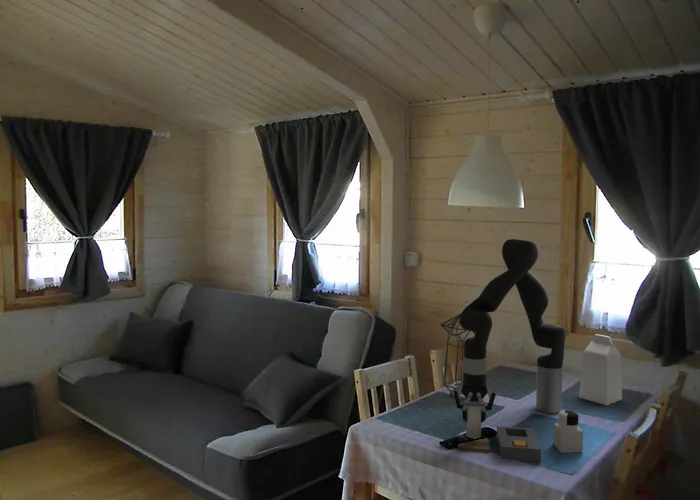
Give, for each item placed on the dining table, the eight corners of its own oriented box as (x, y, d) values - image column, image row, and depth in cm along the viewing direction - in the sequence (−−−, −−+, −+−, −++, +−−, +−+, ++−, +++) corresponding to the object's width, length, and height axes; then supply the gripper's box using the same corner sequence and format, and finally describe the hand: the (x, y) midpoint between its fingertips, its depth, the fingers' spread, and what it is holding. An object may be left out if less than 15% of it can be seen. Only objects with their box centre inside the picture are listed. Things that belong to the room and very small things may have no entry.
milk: (578, 397, 244) (580, 334, 242) (594, 392, 251) (596, 331, 249) (606, 405, 234) (608, 340, 232) (621, 399, 241) (624, 336, 239)
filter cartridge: (465, 432, 199) (465, 397, 198) (481, 433, 198) (481, 397, 197) (465, 438, 193) (466, 402, 193) (482, 439, 193) (482, 403, 192)
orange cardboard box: (513, 452, 189) (513, 440, 189) (524, 453, 189) (525, 440, 188) (514, 457, 186) (514, 444, 185) (526, 458, 185) (526, 445, 185)
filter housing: (496, 437, 202) (496, 426, 202) (533, 440, 200) (533, 428, 200) (500, 459, 185) (501, 446, 185) (540, 461, 183) (541, 449, 183)
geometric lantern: (436, 396, 245) (437, 312, 243) (456, 388, 257) (458, 307, 255) (470, 404, 235) (471, 316, 233) (489, 395, 246) (491, 311, 244)
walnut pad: (457, 438, 202) (457, 435, 202) (487, 440, 200) (487, 437, 200) (458, 450, 192) (458, 447, 192) (489, 452, 190) (489, 449, 190)
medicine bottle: (573, 443, 197) (575, 408, 196) (582, 452, 190) (584, 416, 189) (552, 444, 197) (553, 408, 196) (560, 453, 190) (562, 416, 189)
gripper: (496, 368, 196) (495, 418, 198) (452, 366, 199) (451, 416, 200) (498, 374, 189) (497, 427, 190) (452, 372, 191) (451, 424, 193)
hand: (473, 421), depth 195 cm, fingers closed on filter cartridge, 4 cm apart
